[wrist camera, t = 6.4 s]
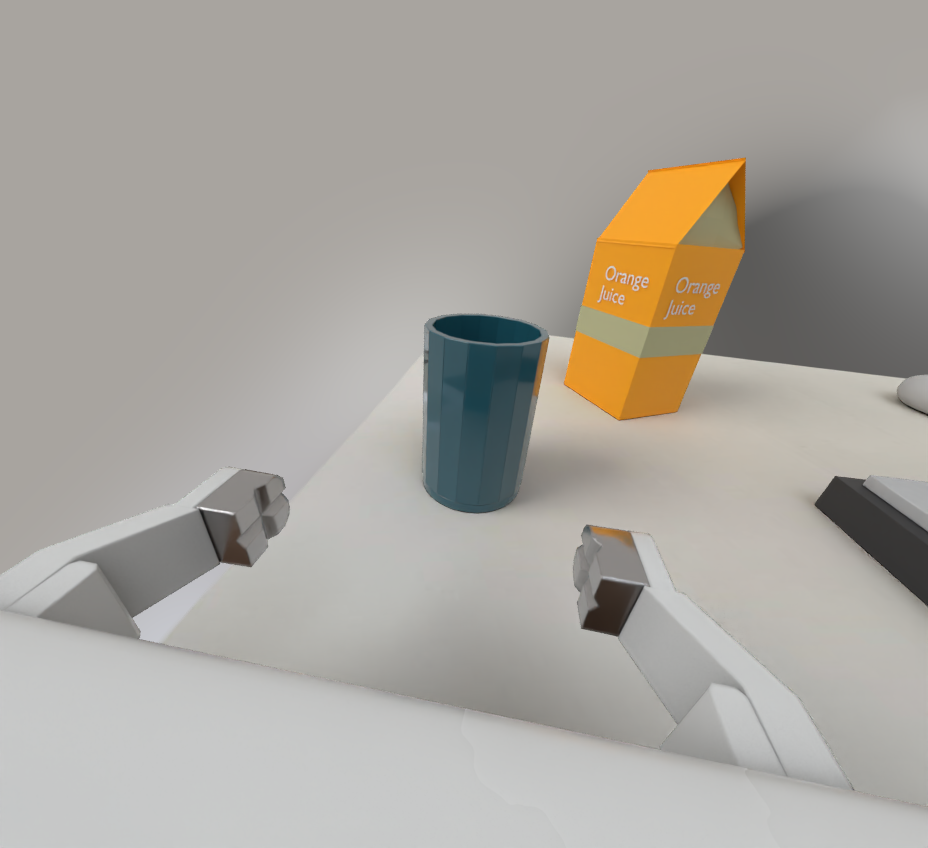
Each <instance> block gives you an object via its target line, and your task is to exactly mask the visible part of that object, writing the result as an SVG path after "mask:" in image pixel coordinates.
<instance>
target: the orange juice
mask: <svg viewBox="0 0 928 848" xmlns="http://www.w3.org/2000/svg"><path fill="white" fill-rule="evenodd" d="M745 160H746V158H740V159H732V160H725V161H717V162H710V163H702V164H694V165H687V166H679V167H671V168H663V169H656V170H649V171H648V174H647V175H646V176H645V178H644V179H643V180H642V182H641V183H640V184H639V186H638V187H637V188H636V189H635V191H634V192H633V193H632V195H631V196H630V197H629V199H628V201H627V202H626V203H625V204H624V205H623V207H622V208H621V209H620V211H619V212H618V214H617V215H616V216H615V217H614V219H613V220H612V221H611V223H610V224H609V226H608V227H607V228H606V229H605V231H604V232H603V233H602V235H601V236H600V237H599V238H597V242H596V247H595V251H594V255H593V260H592V264H591V268H590V272H589V277H588V281H587V286H586V290H585V295H584V299H583V303H582V305H581V309H580V313H579V318H578V322H577V327H576V334H575V338H574V342H573V346H572V351H571V355H570V359H569V364H568V368H567V373H566V377H565V381H564V384H565V385H566V386H568V387H569V388H571V389H572V390H574V391H575V392H577V393H578V394H580V395H581V396H583V397H584V398H586V399H588V400H589V401H591V402H592V403H594V404H595V405H597V406H598V407H600V408H601V409H603V410H604V411H606V412H607V413H609V414H610V415H612V416H613V417H615V418H616V419H618V420H624V419H631V418H638V417H645V416H652V415H659V414H666V413H673V412H677V411H678V408H679V406H680V404H681V401H682V399H683V397H684V394H685V392H686V389H687V387H688V385H689V382H690V380H691V377H692V375H693V373H694V370H695V368H696V365H697V363H698V361H699V358H700V356H701V354H702V353H703V350H704V348H705V345H706V343H707V341H708V338H709V336H710V334H711V331H712V329H713V324H714V322H715V320H716V317H717V315H718V313H719V310H720V308H721V305H722V303H723V301H724V298H725V296H726V293H727V291H728V289H729V286H730V284H731V282H732V279H733V277H734V274H735V272H736V270H737V267H738V265H739V262H740V260H741V258H742V255H743V253H744V252H745V163H746V161H745Z"/></svg>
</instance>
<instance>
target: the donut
mask: <svg viewBox="0 0 928 848" xmlns="http://www.w3.org/2000/svg"><path fill="white" fill-rule="evenodd" d="M897 396H898V397H899V399H900V400H901V401H902V402H904V403H905V404H907V405H908V406H910V407H912V408H914V409H916V410H919V411H921V412H924V413H926V414H928V375H918V376H913V377H910V378H908V379H906V380H904V381H903V382H902V383H901V384H900V385H899V386H898V388H897Z"/></svg>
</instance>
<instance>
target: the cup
mask: <svg viewBox="0 0 928 848" xmlns="http://www.w3.org/2000/svg"><path fill="white" fill-rule="evenodd" d="M548 342H549V335H548V332H547V331H546V330H544V329H543V328H541V327H539V326H538V325H536V324H532V323H529V322H526V321H523V320H519V319H514V318H508V317H503V316H496V315H486V314H451V315H441V316H438V317H435V318H431V319H429V320H428V321H427V322H426V323H425V326H424V384H423V442H422V473H423V484H424V487H425V489H426V490H427V492H428V493H429V494H430V496H431V497H432V498H434V499H435V500H436V501H437V502H439V503H440V504H442V505H444V506H446V507H449V508H451V509H455V510H458V511H463V512H471V513H481V512H489V511H494V510H497V509H500V508H502V507H504V506H506V505H507V504H509V503H510V502H511V501H513V499H514V498H515V497H516V496H517V494H518V491H519V488H520V484H521V481H522V476H523V471H524V466H525V461H526V456H527V450H528V445H529V440H530V435H531V430H532V425H533V419H534V414H535V409H536V404H537V399H538V394H539V388H540V383H541V378H542V373H543V368H544V363H545V357H546V352H547V347H548Z"/></svg>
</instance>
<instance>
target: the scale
mask: <svg viewBox="0 0 928 848" xmlns="http://www.w3.org/2000/svg"><path fill="white" fill-rule="evenodd" d="M815 505H816V506H817V507H818V508H819V509H820V510H821V511H822V512H824V513H825V514H826V515H827V516H828V517H829V518H830V519H831V520H833V521H834V522H835V523H836V524H837V525H838V526H839V527H840V528H841V529H843V530H844V531H845V532H846V533H847V534H848V535H849V536H850V537H852V538H853V539H854V540H855V541H856V542H857V543H858V544H859V545H860V546H862V547H863V548H864V549H865V550H866V551H867V552H868V553H869V554H871V555H872V556H873V557H874V558H875V559H876V560H877V561H878V562H880V563H881V564H882V565H883V566H884V567H885V568H886V569H887V570H888V571H890V572H891V573H892V574H893V575H894V576H895V577H896V578H897V579H899V580H900V581H901V582H902V583H903V584H904V585H905V586H906V587H907V588H909V589H910V590H911V591H912V592H913V593H914V594H915V595H916V596H918V597H919V598H920V599H921V600H922V601H923V602H924V603H925V604H927V605H928V482H924V481H916V480H907V479H899V478H891V477H882V476H874V475H870V476H869V477H868V478H867V479H866V480H863V479H855V478H846V477H838V476H835V477H834V478H833V480H832V481H831V483H830V484H829V485H828V487H827V488H826V489H825V491H824V492H823V493H822V495H821V496H820V497H819V499H818V500H817V501H816V503H815Z"/></svg>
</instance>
